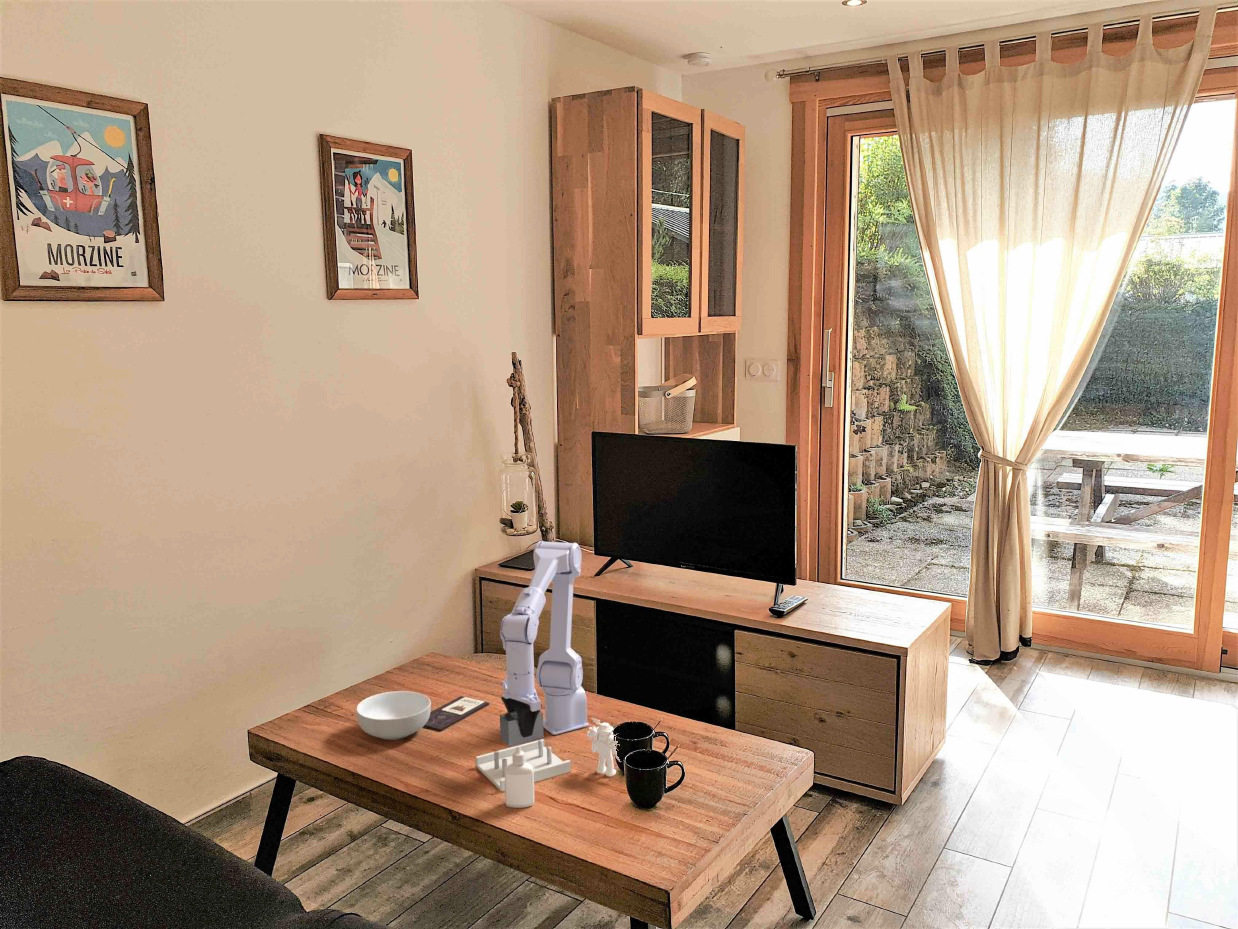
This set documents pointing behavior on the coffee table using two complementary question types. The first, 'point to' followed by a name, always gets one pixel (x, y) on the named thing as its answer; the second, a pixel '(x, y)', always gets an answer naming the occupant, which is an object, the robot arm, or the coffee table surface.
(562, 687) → the robot arm
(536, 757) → the tray
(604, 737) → the flower shoulder figurine
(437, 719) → the chocolate bar
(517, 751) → the eye dropper bottle
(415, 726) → the cereal bowl
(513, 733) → the grey rectangular block
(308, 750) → the coffee table surface
